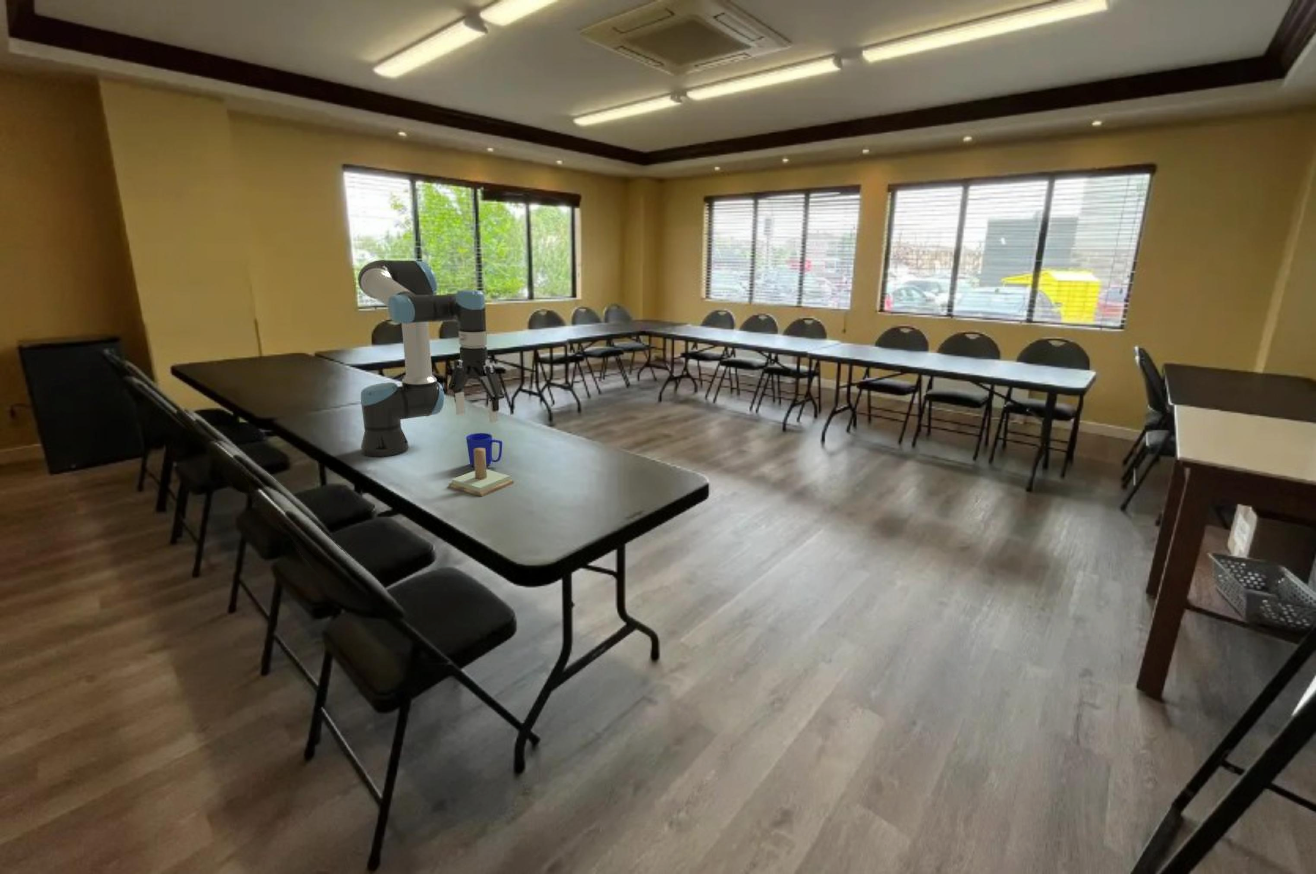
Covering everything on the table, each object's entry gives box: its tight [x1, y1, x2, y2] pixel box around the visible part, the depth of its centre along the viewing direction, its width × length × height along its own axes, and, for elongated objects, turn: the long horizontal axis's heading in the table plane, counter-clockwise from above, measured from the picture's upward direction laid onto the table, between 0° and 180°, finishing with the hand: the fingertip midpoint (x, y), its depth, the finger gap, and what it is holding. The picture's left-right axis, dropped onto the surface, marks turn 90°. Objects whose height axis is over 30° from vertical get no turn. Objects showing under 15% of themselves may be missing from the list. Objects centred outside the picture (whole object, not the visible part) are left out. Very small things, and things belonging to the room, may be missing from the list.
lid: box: [451, 448, 511, 493], centre depth 174 cm, size 12×12×10 cm
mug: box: [465, 432, 503, 468], centre depth 190 cm, size 8×12×10 cm
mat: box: [448, 479, 515, 497], centre depth 175 cm, size 14×13×1 cm
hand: (477, 417), depth 170 cm, fingers open, 13 cm apart
